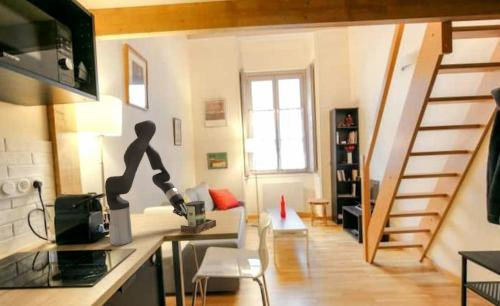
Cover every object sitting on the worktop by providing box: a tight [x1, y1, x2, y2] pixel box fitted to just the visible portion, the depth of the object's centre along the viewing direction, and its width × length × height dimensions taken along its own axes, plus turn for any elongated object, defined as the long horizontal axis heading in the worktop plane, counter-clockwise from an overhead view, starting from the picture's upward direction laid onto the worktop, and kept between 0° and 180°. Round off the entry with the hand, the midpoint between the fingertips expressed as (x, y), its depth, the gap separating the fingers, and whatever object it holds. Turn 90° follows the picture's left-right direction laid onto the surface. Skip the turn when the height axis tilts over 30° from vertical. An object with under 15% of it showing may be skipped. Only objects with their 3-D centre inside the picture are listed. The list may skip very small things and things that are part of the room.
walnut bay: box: [180, 218, 217, 234], centre depth 155 cm, size 16×11×3 cm
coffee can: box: [185, 200, 207, 227], centre depth 156 cm, size 10×10×14 cm
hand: (190, 219), depth 160 cm, fingers closed
